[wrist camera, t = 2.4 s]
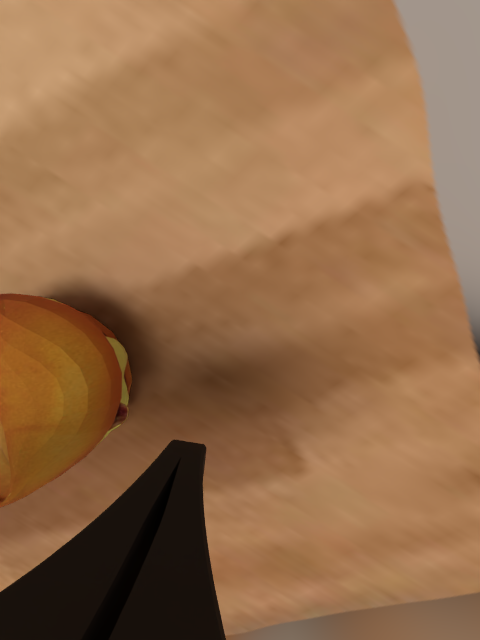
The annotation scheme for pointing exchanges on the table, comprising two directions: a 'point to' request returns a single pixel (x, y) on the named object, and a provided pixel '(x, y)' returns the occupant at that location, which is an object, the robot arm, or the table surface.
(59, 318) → the cheeseburger
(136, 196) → the table surface
